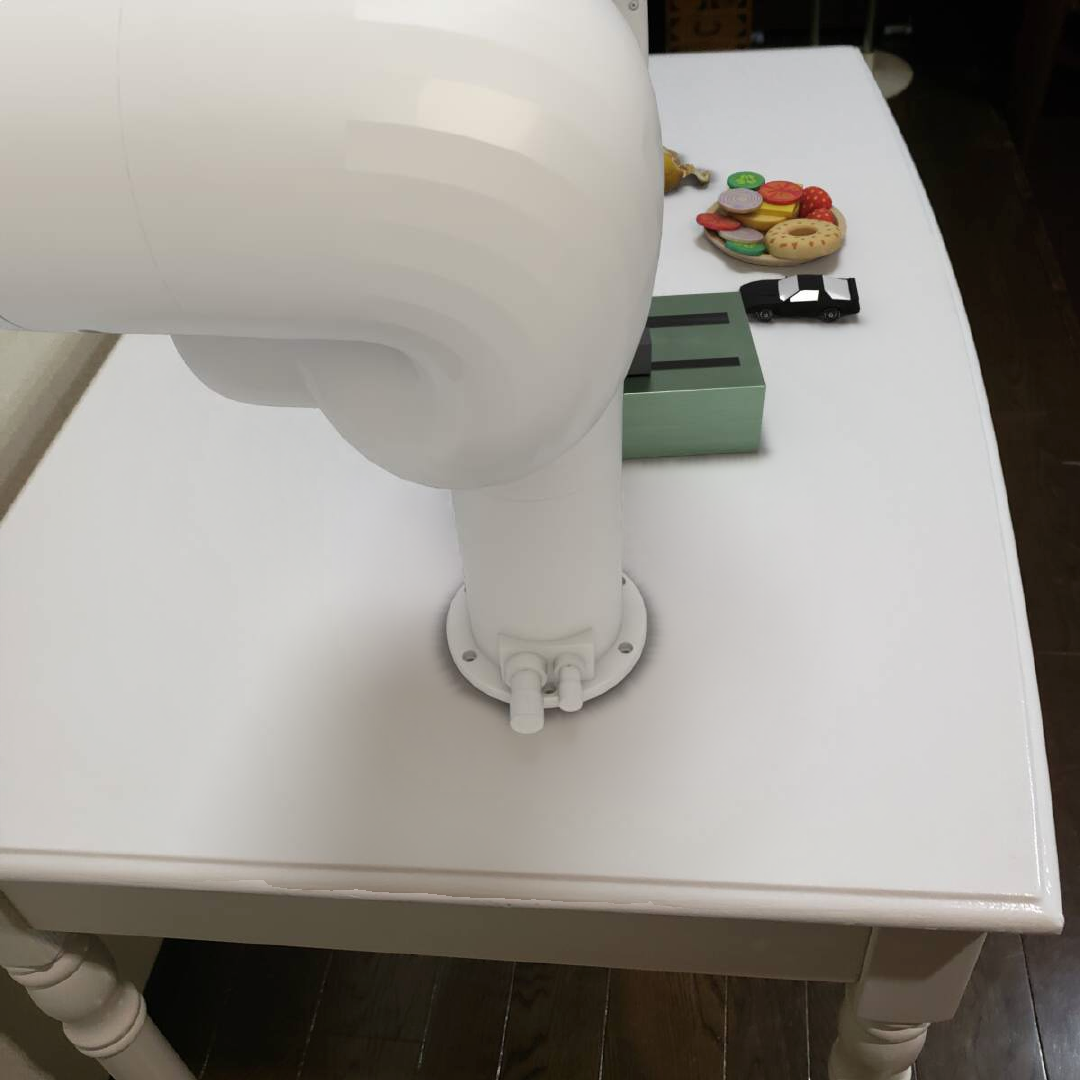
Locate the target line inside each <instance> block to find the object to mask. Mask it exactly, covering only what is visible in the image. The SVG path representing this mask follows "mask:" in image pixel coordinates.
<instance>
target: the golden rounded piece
mask: <svg viewBox="0 0 1080 1080" xmlns="http://www.w3.org/2000/svg"><path fill="white" fill-rule="evenodd" d="M663 154H664V195H666V194H667V192H669V191H672V190H675V189H677V188H678V186H679V185H680V182H681V180H682V179H684V178H686V177H687V176H689V174H693V175H695V176H696V177H697V179H698V180H699V182H700V183H699V185H701V186H702V185H703V184H707V183H708V182H709V180H710V178H711V174H710V171H709V170H706V171H703V170H698V169H696V168H695V166H694V164H693V163H683V164H681V162H682V161H683V160H682V159H680V157H679V154H678V153H677V152H676V151H674V150H672V149H670V148H667V147H666V146H665V145H663Z"/></svg>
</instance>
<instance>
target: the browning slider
mask: <svg viewBox="0 0 1080 1080" xmlns="http://www.w3.org/2000/svg"><path fill="white" fill-rule="evenodd" d="M651 357H652V342H651V336H650V330H649V327H645V328H644V331H643V333H642V336H641V339H640V342H639V344H638V347H637V349H636V352H635V355H634V358H633V360H632V363H631V365H630V368H629V370H628V373H627V375H634V374H651Z"/></svg>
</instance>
